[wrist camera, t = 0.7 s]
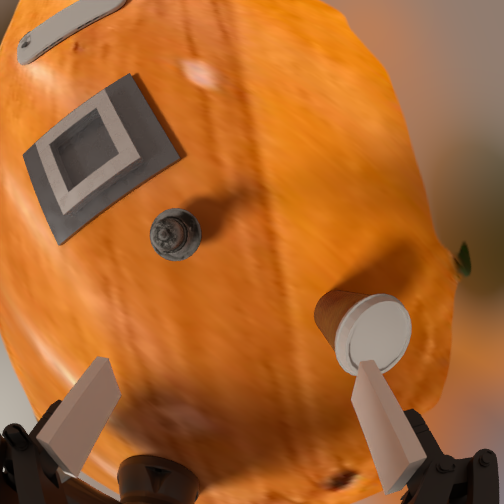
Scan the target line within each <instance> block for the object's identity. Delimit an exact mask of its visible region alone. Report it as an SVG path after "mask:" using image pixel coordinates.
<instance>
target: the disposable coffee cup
mask: <svg viewBox="0 0 504 504" xmlns="http://www.w3.org/2000/svg"><path fill="white" fill-rule="evenodd" d="M314 318H315V322H316V325H317V326H318V328H319V329H320V330H321V332H322V333H323V335H324V336H325V338H326V339H327V341H328V342H329V344H330V345H331V346H332V348H333V349H334V351H335V352H336V357H337V360H338V362H339V364H340V366H341V367H342V368H343V369H344V370H345V371H346V372H348V373H349V374H351V375H355V376H357V373H358V369H359V364H360V361H368V360H374V361H375V363H376V365H377V366H378V368H379V370H380V371H381V373H382V374H383V373H385V372H387V371H388V370H390V369H391V368H392V367H393V366H394V365H395V364H396V363H397V362H398V361H399V360H400V359H401V357H402V356H403V354H404V353H405V351H406V349H407V346H408V344H409V341H410V337H411V327H412V326H411V319H410V316H409V314H408V312H407V310H406V309H405V308H404V306H403V304H402V303H401V302H400V301H399V300H398V299H397V298H396V297H394V296H392V295H388V294H374V295H366V294H359V293H353V292H346V291H340V290H335V291H331V292H329V293H327V294H325V295H324V296H323V297H322V298H321V299H320V300H319V302H318V303H317V305H316V308H315V312H314Z"/></svg>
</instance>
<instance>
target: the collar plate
mask: <svg viewBox="0 0 504 504" xmlns="http://www.w3.org/2000/svg"><path fill="white" fill-rule="evenodd" d="M23 158H24V161H25V164H26V167H27V170H28V173H29V176H30V179H31V182H32V185H33V187H34V190H35V193H36V195H37V198H38V200H39V203H40V205H41V208H42V210H43V213H44V215H45V217H46V220H47V222H48V224H49V226H50V229H51V231H52V233H53V235H54V237H55V239H56V241H57V243H58V245H63V244H64V243H65V242H66V241H68V240H69V239H70V238H71V237H72V236H74V235H75V234H76V233H77V232H79V231H80V230H81V229H82V228H84V227H85V226H86V225H87V224H89V223H90V222H91V221H92V220H94V219H95V218H96V217H98V216H99V215H100V214H102V213H103V212H104V211H106V210H107V209H108V208H110V207H111V206H112V205H114V204H115V203H116V202H118V201H119V200H121V199H122V198H123V197H125V196H126V195H128V194H129V193H131V192H132V191H134V190H135V189H136V188H138V187H139V186H141V185H142V184H144V183H145V182H147V181H148V180H150V179H151V178H153V177H155V176H156V175H158V174H159V173H161V172H162V171H164V170H165V169H167V168H169V167H170V166H172V165H174V164H175V163H177V162H178V161H180V160H181V159H180V157H179V155H178V153H177V152H176V150H175V148H174V147H173V145H172V143H171V142H170V140H169V138H168V137H167V135H166V133H165V132H164V130H163V128H162V127H161V125H160V123H159V122H158V120H157V118H156V117H155V115H154V113H153V112H152V110H151V108H150V107H149V105H148V103H147V102H146V100H145V98H144V96H143V95H142V93H141V91H140V90H139V88H138V86H137V85H136V83H135V81H134V79H133V78H132V76H131V74H130V73H129V74H127V75H126V76H124V77H122V78H121V79H119V80H117V81H116V82H114V83H113V84H111V85H109V86H108V87H106V88H105V89H103V90H102V91H100V92H99V93H97V94H96V95H94V96H93V97H91V98H90V99H89V100H87V101H86V102H84V103H83V104H82V105H80V106H79V107H78V108H76V109H75V110H74V111H72V112H71V113H70V114H68V115H67V116H66V117H65V118H63V119H62V120H61V121H60V122H58V123H57V124H56V125H55V126H54V127H52V128H51V129H50V130H49V131H48V132H47V133H46V134H44V135H43V136H42V137H41V138H40V139H39V140H38V141H37V142H36V143H34V144H33V145H32V146H31V147H30V148H29V149H28V150H27V151H26V152H25V153H24V154H23Z"/></svg>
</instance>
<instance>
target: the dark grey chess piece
mask: <svg viewBox="0 0 504 504" xmlns="http://www.w3.org/2000/svg"><path fill="white" fill-rule="evenodd" d="M150 240H151V244H152V246H153V248H154V250H155V251H156V252H157V253H158V254H159V255H160V256H161V257H163V258H165V259H167V260H170V261H181V260H184V259H187V258H188V257H190V256H192V254H193V253H194V252H195V251H196V250H197V248H198V247H199V245H200V241H201V228H200V224H199V222H198V221H197V219H196V218H195V217H194V216H193V215H192V214H191V213H190V212H188V211H186V210H184V209H180V208H172V209H168V210H165V211H164V212H162V213H160V214H159V215H158V216H157V217H156V218H155V220H154V222H153V224H152V226H151V230H150Z"/></svg>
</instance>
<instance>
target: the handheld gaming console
mask: <svg viewBox="0 0 504 504" xmlns="http://www.w3.org/2000/svg"><path fill="white" fill-rule="evenodd" d="M125 2H126V0H79V1H77V2H75V3H74V4H72V5H70V6H68V7H67V8H65V9H63V10H62V11H60V12H58V13H57V14H55V15H54V16H52V17H51V18H49V19H48V20H46V21H45V22H43V23H42V24H40V25H39V26H37V27H36V28H35V29H33V30H32V31H30V32H28V33H27V34H26V35H25V36H24V37H23V38H22V39H21V40H20V42H19V45H18V47H17V60H18V62H19V63H20V64H21V65H26V64H29V63H31V62H32V61H34V60H35V59H37V58H38V57H39V56H41V55H42V54H44V53H45V52H46V51H48V50H49V49H51V48H52V47H54V46H55V45H57V44H58V43H60V42H61V41H63V40H64V39H66V38H67V37H69V36H71V35H72V34H74V33H76V32H77V31H79V30H81V29H83V28H84V27H86V26H88V25H90V24H92V23H93V22H95V21H97V20H99V19H101V18H103V17H105V16H107V15H109V14H111V13H113V12H115V11H117V10H118V9H120V8H121V7H122V6H123V5H124V4H125Z"/></svg>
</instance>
